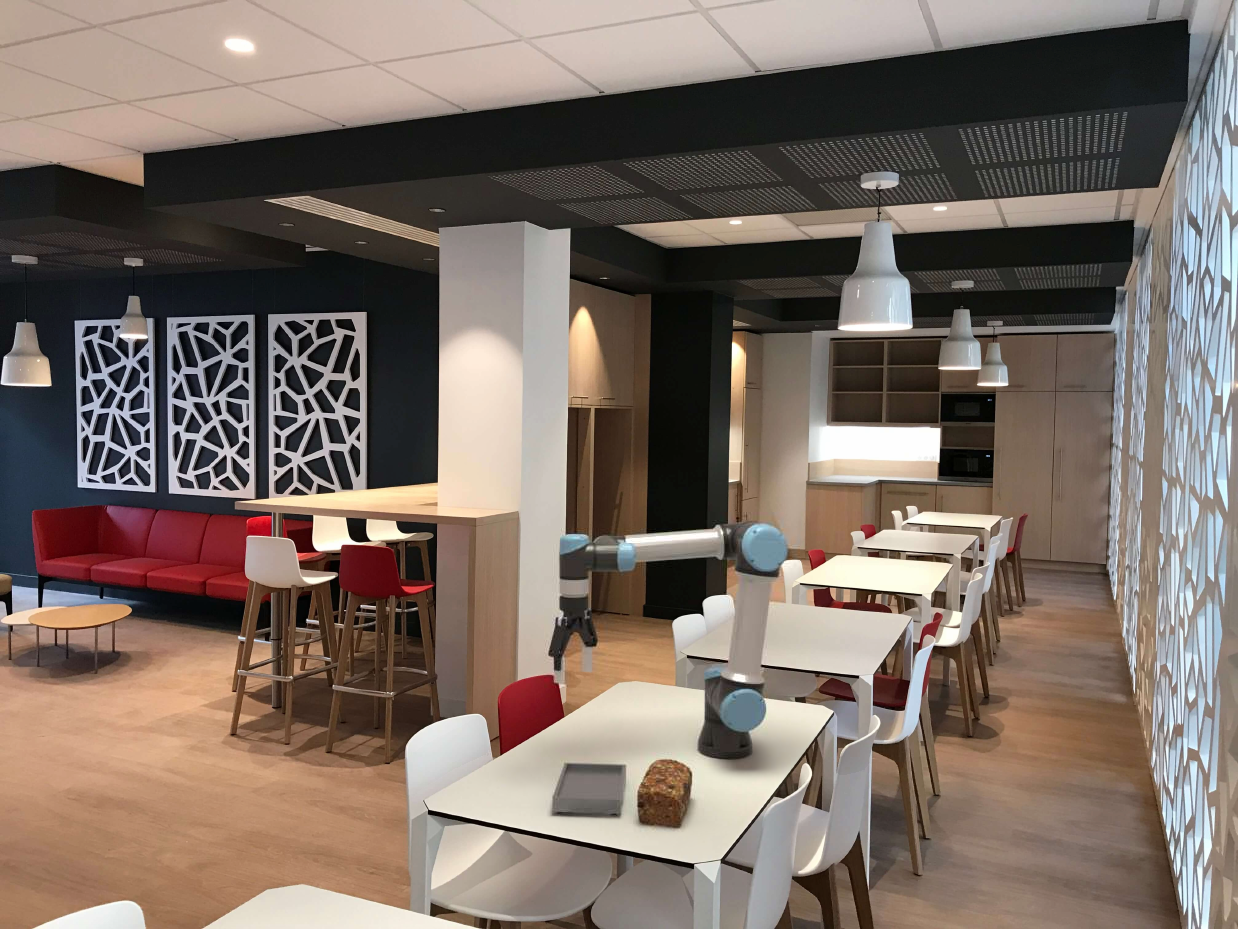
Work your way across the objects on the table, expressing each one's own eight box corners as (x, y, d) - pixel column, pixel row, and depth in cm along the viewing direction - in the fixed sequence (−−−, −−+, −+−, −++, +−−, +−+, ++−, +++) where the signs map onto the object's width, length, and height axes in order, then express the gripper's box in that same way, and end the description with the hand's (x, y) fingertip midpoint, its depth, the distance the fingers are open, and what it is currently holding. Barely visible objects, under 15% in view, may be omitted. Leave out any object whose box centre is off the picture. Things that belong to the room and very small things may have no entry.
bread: (650, 795, 233) (651, 754, 233) (694, 799, 231) (694, 758, 230) (634, 825, 215) (635, 781, 214) (682, 830, 212) (682, 786, 212)
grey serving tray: (625, 781, 242) (626, 764, 242) (620, 818, 219) (620, 799, 218) (564, 779, 243) (564, 762, 243) (552, 815, 219) (552, 797, 219)
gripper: (586, 587, 259) (586, 665, 259) (534, 600, 237) (534, 686, 237) (610, 589, 255) (610, 668, 256) (559, 603, 233) (559, 690, 234)
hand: (573, 677), depth 247 cm, fingers open, 13 cm apart
